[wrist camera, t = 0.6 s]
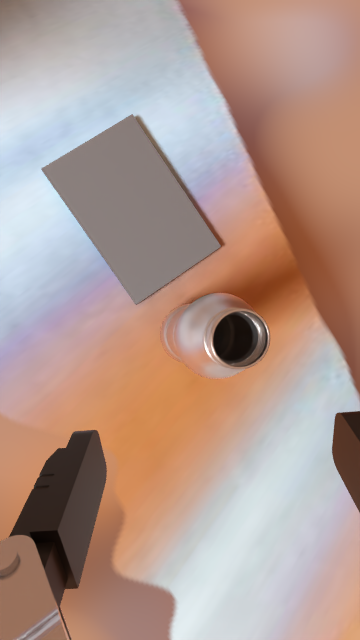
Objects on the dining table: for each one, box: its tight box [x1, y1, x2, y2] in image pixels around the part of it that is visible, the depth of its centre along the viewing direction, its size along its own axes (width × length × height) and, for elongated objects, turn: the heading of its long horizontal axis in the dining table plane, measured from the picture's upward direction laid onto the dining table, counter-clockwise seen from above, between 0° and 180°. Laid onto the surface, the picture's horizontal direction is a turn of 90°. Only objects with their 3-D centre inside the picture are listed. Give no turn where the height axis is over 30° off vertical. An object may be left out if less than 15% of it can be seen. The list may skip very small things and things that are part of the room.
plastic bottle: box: [160, 293, 270, 379], centre depth 30 cm, size 6×7×20 cm
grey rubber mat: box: [42, 114, 221, 305], centre depth 39 cm, size 18×12×1 cm, turn 35°
